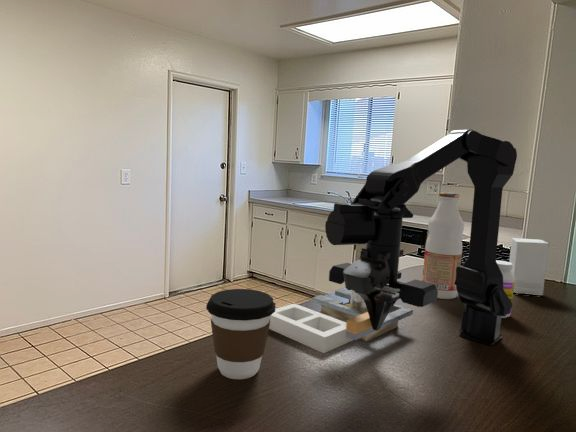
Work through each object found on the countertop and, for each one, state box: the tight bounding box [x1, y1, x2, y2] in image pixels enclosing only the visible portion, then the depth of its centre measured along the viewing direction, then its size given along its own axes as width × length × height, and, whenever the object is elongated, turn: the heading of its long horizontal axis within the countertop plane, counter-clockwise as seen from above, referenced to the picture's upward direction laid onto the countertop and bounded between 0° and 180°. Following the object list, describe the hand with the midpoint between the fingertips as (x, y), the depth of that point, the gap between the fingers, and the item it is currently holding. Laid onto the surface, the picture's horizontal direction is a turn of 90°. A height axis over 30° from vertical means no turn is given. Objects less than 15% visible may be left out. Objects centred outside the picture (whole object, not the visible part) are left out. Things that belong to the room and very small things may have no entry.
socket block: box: [319, 299, 399, 342], centre depth 90 cm, size 12×12×4 cm
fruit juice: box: [421, 191, 465, 300], centre depth 115 cm, size 9×9×28 cm
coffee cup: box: [205, 288, 276, 380], centre depth 68 cm, size 11×11×12 cm
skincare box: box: [508, 237, 550, 296], centre depth 122 cm, size 8×7×16 cm
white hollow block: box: [269, 303, 354, 354], centre depth 84 cm, size 16×9×3 cm, turn 46°
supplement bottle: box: [496, 259, 515, 319], centre depth 102 cm, size 7×7×13 cm
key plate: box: [311, 288, 414, 341], centre depth 86 cm, size 18×20×3 cm
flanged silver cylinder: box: [344, 290, 368, 313], centre depth 90 cm, size 7×7×11 cm
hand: (376, 329), depth 75 cm, fingers closed
